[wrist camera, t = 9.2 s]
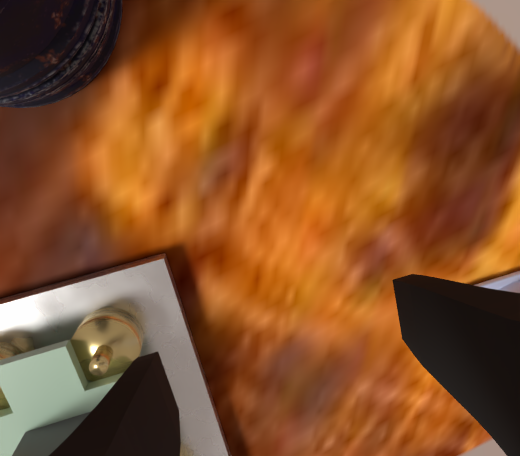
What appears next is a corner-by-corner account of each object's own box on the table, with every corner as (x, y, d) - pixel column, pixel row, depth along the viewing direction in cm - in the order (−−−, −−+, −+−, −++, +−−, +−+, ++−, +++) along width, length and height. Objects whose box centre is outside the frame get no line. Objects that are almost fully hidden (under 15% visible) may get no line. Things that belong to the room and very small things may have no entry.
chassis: (165, 252, 20) (159, 277, 17) (242, 489, 25) (250, 549, 21) (-99, 326, 19) (-165, 370, 16) (29, 562, 23) (0, 639, 20)
